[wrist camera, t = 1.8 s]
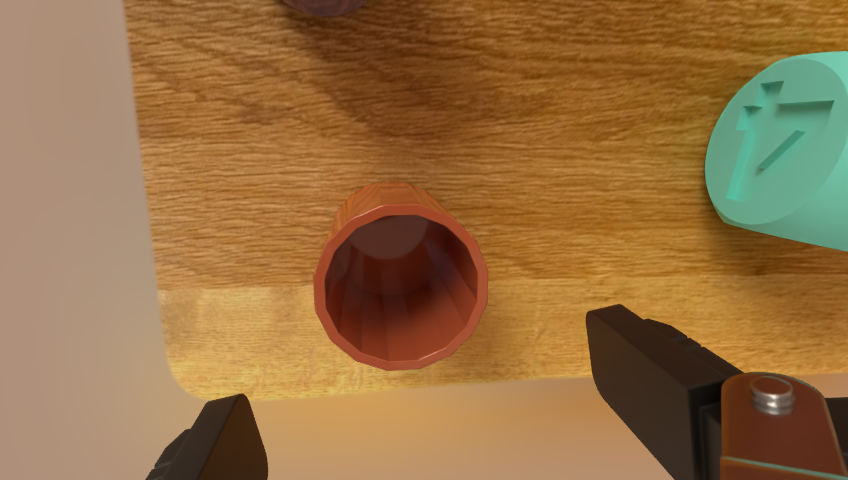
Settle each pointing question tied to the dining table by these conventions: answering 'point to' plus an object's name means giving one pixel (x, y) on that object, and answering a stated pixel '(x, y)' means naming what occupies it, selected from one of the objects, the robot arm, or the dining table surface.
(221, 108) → the dining table surface
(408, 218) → the terracotta cup
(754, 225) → the decorative dice
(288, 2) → the blue cup
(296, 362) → the dining table surface
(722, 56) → the dining table surface
